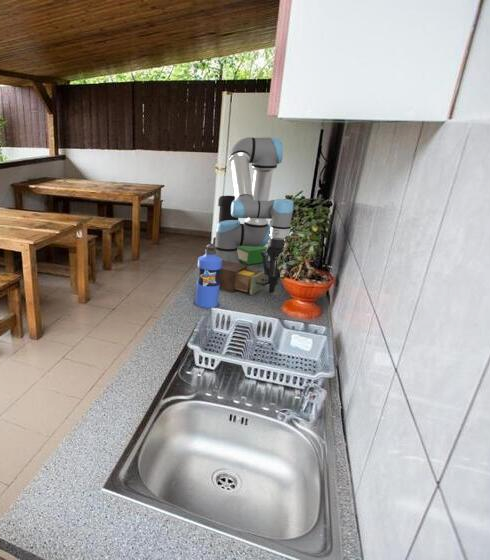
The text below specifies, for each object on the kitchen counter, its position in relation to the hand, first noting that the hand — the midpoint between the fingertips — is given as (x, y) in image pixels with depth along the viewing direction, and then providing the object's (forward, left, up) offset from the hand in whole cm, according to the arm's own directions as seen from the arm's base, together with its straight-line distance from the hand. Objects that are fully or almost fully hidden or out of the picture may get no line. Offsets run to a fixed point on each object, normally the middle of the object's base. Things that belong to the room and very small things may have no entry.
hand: (271, 291), depth 181 cm
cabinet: (0, -22, -2) cm, 22 cm away
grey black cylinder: (-70, -58, -2) cm, 91 cm away
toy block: (0, -12, 0) cm, 12 cm away
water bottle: (+26, -16, -2) cm, 31 cm away
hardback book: (-40, -36, +2) cm, 54 cm away
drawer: (0, -11, -1) cm, 11 cm away
